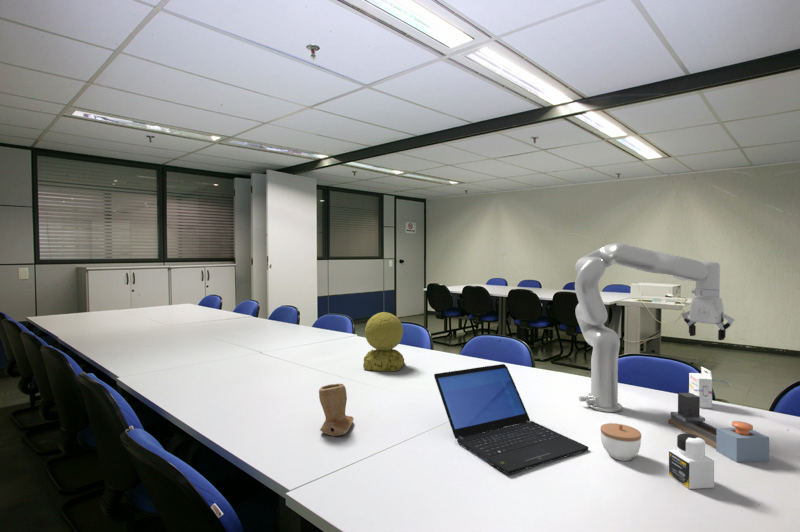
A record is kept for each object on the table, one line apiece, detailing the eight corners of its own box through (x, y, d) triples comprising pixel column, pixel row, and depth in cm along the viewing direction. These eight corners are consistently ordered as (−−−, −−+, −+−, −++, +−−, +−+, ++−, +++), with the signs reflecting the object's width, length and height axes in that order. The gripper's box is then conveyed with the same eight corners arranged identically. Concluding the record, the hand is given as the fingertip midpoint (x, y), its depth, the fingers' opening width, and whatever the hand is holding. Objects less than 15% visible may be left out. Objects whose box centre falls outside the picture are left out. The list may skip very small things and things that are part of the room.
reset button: (741, 440, 120) (741, 427, 120) (727, 433, 125) (727, 421, 125) (757, 440, 120) (757, 427, 120) (742, 433, 125) (742, 420, 125)
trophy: (359, 371, 219) (358, 314, 218) (369, 361, 240) (368, 309, 240) (400, 372, 215) (400, 315, 215) (407, 362, 237) (407, 310, 236)
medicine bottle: (668, 475, 112) (668, 431, 112) (692, 473, 112) (692, 430, 112) (688, 489, 105) (688, 442, 105) (714, 488, 105) (715, 441, 105)
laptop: (507, 479, 111) (507, 407, 111) (432, 428, 144) (432, 373, 144) (590, 452, 126) (590, 389, 126) (505, 412, 159) (505, 362, 159)
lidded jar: (592, 451, 126) (592, 421, 126) (617, 445, 130) (617, 415, 130) (623, 467, 116) (623, 434, 116) (649, 460, 120) (649, 428, 120)
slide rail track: (719, 450, 126) (719, 438, 126) (668, 422, 148) (668, 411, 148) (744, 450, 126) (744, 437, 126) (689, 422, 148) (689, 411, 148)
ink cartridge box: (688, 400, 171) (688, 365, 171) (701, 401, 170) (701, 365, 170) (698, 407, 163) (698, 370, 162) (712, 408, 162) (713, 371, 162)
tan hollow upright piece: (325, 419, 152) (324, 378, 152) (356, 420, 150) (356, 380, 150) (311, 436, 137) (310, 392, 137) (346, 438, 135) (345, 393, 135)
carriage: (685, 426, 140) (685, 397, 140) (672, 419, 146) (672, 392, 146) (704, 425, 141) (705, 397, 141) (691, 419, 147) (691, 391, 147)
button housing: (736, 462, 119) (736, 438, 119) (716, 451, 126) (716, 428, 126) (769, 461, 119) (769, 437, 119) (747, 450, 126) (747, 427, 126)
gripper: (677, 292, 165) (677, 335, 165) (729, 295, 150) (728, 342, 151) (687, 291, 169) (686, 333, 169) (738, 295, 154) (737, 340, 154)
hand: (706, 337), depth 160 cm, fingers open, 9 cm apart
